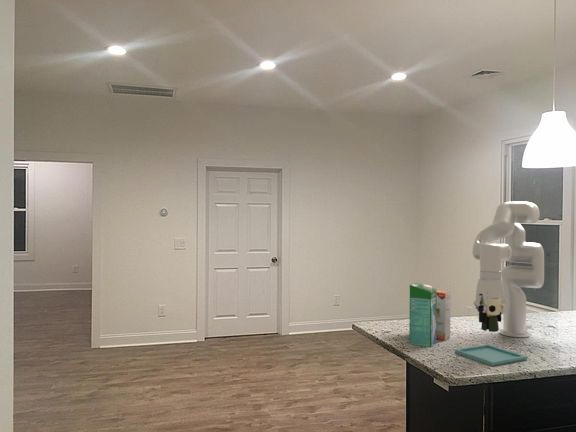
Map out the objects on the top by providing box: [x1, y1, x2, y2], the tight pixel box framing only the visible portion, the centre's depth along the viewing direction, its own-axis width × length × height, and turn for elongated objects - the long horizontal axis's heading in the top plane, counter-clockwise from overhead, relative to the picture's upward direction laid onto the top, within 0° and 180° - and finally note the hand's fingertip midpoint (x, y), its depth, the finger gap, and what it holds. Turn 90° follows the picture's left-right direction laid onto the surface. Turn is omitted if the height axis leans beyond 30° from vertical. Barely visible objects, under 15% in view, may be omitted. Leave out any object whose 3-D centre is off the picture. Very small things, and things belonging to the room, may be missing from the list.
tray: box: [454, 343, 528, 367], centre depth 178 cm, size 18×18×2 cm
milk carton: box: [408, 282, 437, 348], centre depth 197 cm, size 9×9×25 cm
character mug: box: [475, 298, 505, 333], centre depth 178 cm, size 11×7×13 cm, turn 51°
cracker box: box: [436, 290, 451, 341], centre depth 207 cm, size 14×6×21 cm, turn 47°
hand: (490, 321), depth 178 cm, fingers closed on character mug, 7 cm apart
